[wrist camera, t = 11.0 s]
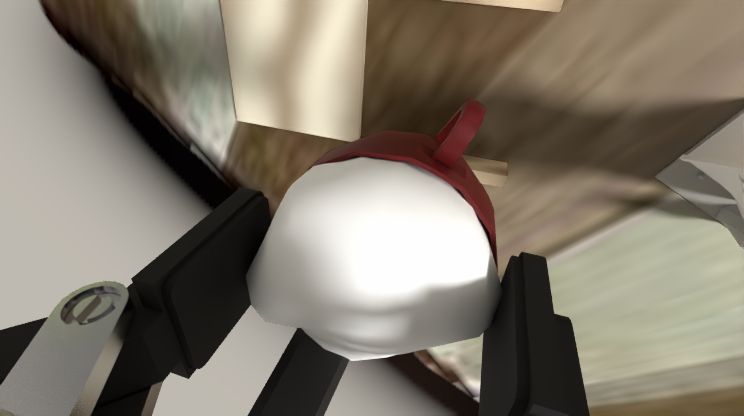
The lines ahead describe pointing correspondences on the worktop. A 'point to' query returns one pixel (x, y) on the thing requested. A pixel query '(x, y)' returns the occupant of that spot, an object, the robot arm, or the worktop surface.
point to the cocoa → (375, 259)
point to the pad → (298, 63)
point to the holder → (487, 168)
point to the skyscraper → (714, 175)
